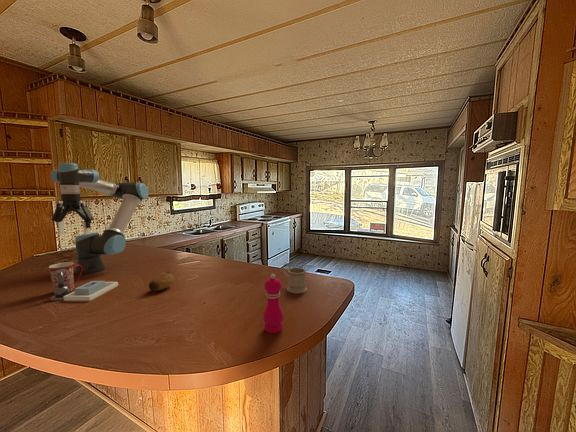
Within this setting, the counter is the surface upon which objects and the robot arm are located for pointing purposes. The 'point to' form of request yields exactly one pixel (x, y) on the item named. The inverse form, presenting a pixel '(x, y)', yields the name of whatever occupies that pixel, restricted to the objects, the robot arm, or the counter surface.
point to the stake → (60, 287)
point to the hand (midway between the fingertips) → (74, 234)
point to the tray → (107, 288)
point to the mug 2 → (296, 279)
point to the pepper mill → (273, 306)
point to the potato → (161, 281)
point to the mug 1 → (65, 274)
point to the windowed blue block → (89, 288)
